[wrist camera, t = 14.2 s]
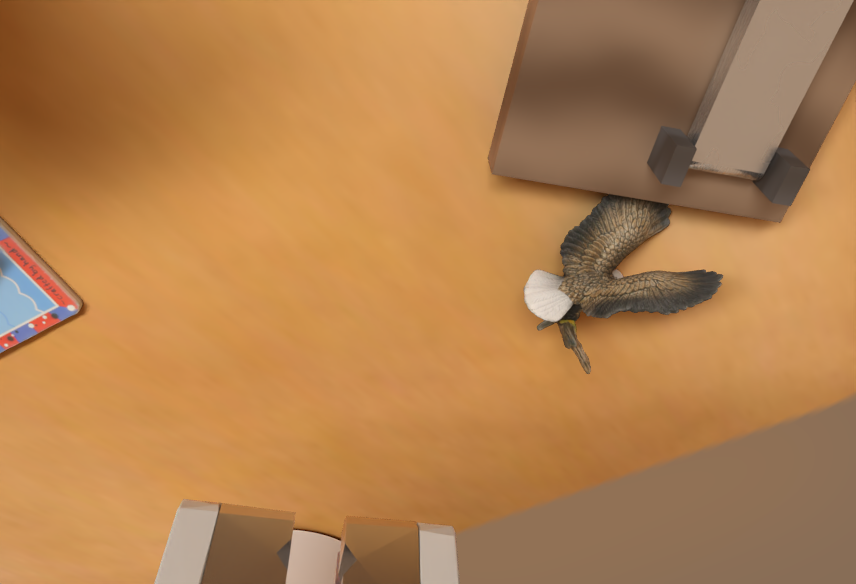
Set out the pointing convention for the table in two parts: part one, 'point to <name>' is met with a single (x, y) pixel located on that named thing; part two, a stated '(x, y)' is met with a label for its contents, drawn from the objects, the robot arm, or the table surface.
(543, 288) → the eagle figurine
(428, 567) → the robot arm
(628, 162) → the base
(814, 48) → the bar
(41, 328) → the puzzle board
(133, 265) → the table surface
